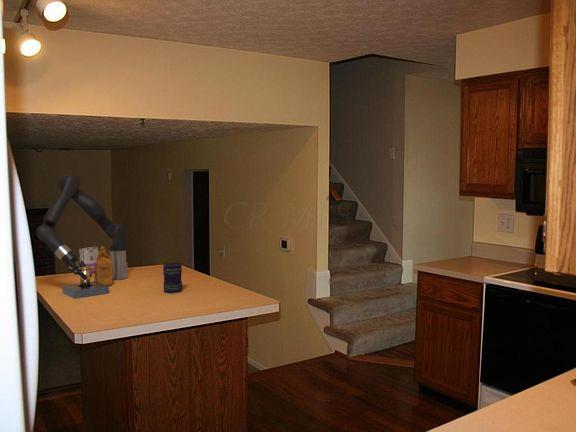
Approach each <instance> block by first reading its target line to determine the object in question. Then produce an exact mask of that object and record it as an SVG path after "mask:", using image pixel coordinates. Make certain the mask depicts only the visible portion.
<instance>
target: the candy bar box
mask: <svg viewBox="0 0 576 432" xmlns="http://www.w3.org/2000/svg"><path fill="white" fill-rule="evenodd" d="M78 251H79V252H78V253H79V262H81V261H83V262H84V263H85V265H86V266H90V273H91V274H94V273H95V265H96V259H97V256H98V254H99V251H100V248H99V246H89V247H83V248H79V250H78Z"/></svg>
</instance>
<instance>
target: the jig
mask: <svg viewBox="0 0 576 432" xmlns="http://www.w3.org/2000/svg"><path fill="white" fill-rule="evenodd" d="M61 287H62V294H64V295H66V296H67V297H70V298H72V299H75V300H76V299H82V298H91V297H95V296H102V295H108V294H110V285H105V284H102V283H99V282H97V281H95V280H94V281H92V280H91V281H90V286H87V287H81V286H80V282H79V283H71V284H64V285H62V286H61Z"/></svg>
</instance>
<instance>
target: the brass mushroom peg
mask: <svg viewBox="0 0 576 432" xmlns="http://www.w3.org/2000/svg"><path fill="white" fill-rule="evenodd" d="M80 269H81V270H82V273H84V274H85V275H86V276H87V277H88V278H87V279H86V280H84V279H83V278H82V277H81V276H80V275H79V281H80V282H79V283H80V286H81V287H87V286H90V282H91V277H90V266H84V267H81V268H80Z"/></svg>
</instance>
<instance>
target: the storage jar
mask: <svg viewBox="0 0 576 432" xmlns="http://www.w3.org/2000/svg"><path fill="white" fill-rule="evenodd" d="M182 267H183V265H182V263H181V262H168V263H167V262H165V263H164V264H163V269H162V270H163V271H162V275H163V293H164V294H179V293H182V292H183V288H182V287H183V281H182V274H183V273H182V272H183V268H182Z"/></svg>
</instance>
